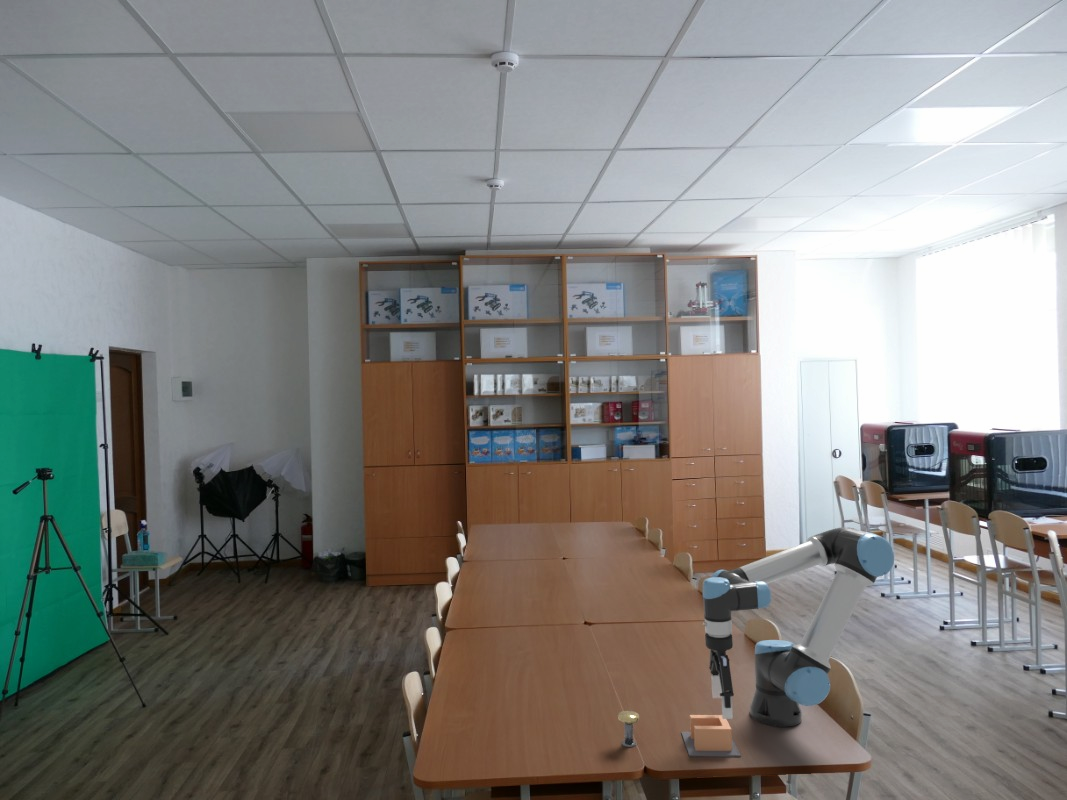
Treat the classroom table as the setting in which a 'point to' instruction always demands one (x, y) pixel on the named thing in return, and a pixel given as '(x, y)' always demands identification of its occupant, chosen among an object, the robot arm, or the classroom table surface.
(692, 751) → the mat
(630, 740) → the knob post
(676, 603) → the classroom table surface
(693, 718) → the c link
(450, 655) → the classroom table surface
